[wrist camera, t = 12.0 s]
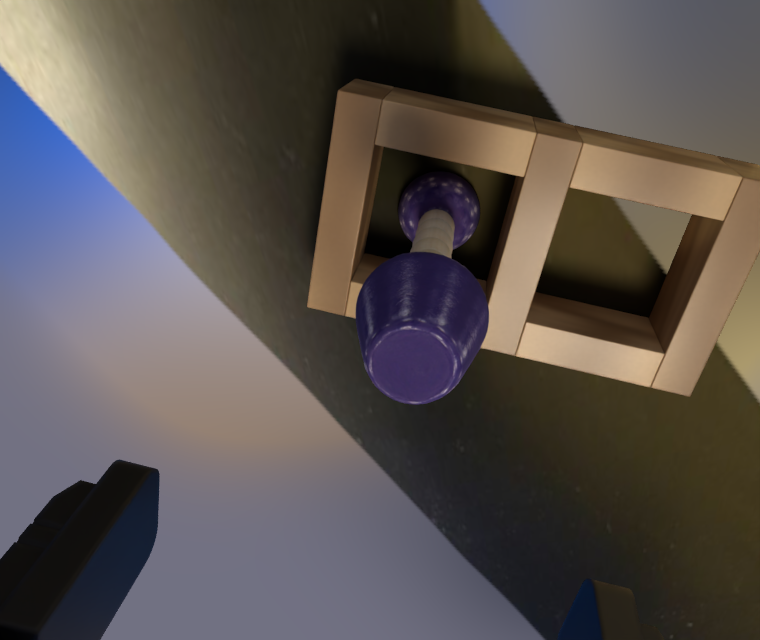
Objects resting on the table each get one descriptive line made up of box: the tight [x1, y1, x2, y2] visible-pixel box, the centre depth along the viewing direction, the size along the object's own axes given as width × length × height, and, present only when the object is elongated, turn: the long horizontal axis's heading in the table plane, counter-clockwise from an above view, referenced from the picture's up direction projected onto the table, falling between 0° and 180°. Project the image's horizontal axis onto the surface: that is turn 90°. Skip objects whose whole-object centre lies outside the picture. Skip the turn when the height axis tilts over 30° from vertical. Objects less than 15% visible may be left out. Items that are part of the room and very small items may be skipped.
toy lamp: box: [356, 171, 489, 405], centre depth 28 cm, size 5×5×17 cm
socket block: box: [307, 79, 760, 396], centre depth 33 cm, size 20×11×4 cm, turn 80°
